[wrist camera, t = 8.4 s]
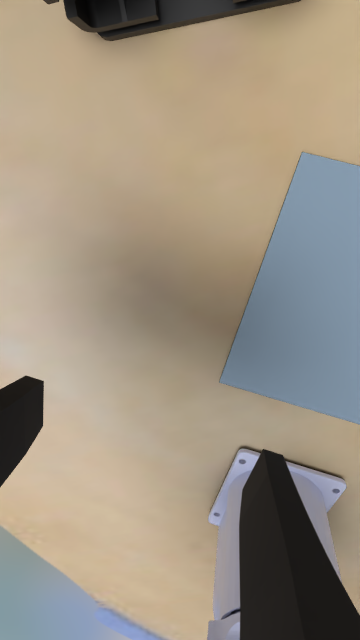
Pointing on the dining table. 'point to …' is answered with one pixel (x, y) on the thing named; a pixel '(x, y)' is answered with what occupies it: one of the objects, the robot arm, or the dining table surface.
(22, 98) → the dining table surface
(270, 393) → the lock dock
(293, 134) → the dining table surface
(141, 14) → the end cap
